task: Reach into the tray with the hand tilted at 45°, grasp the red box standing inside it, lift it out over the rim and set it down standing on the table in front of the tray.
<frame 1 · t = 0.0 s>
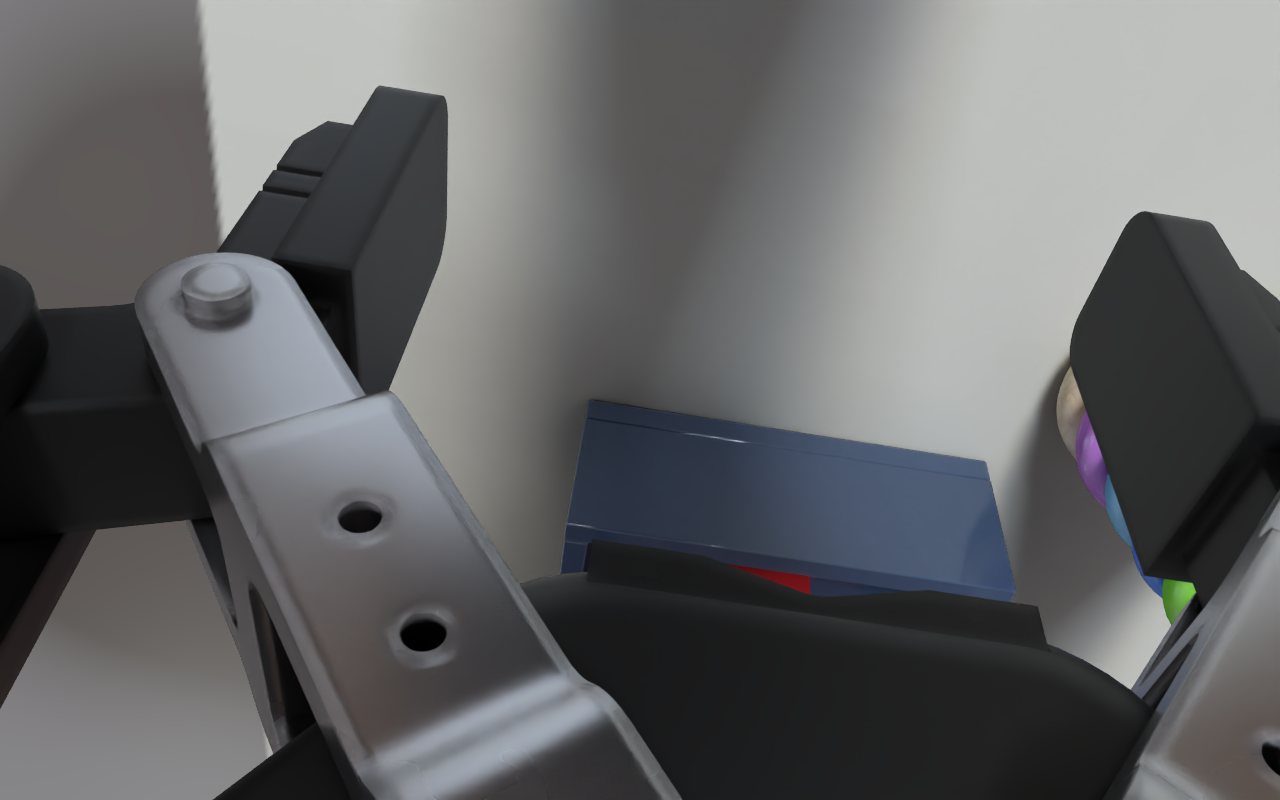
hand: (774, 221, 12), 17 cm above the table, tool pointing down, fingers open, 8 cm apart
tray: (746, 561, 43), on the table
red box: (746, 581, 42), point 1 cm above the table, touching tray
stacking toy: (1175, 374, 35), on the table
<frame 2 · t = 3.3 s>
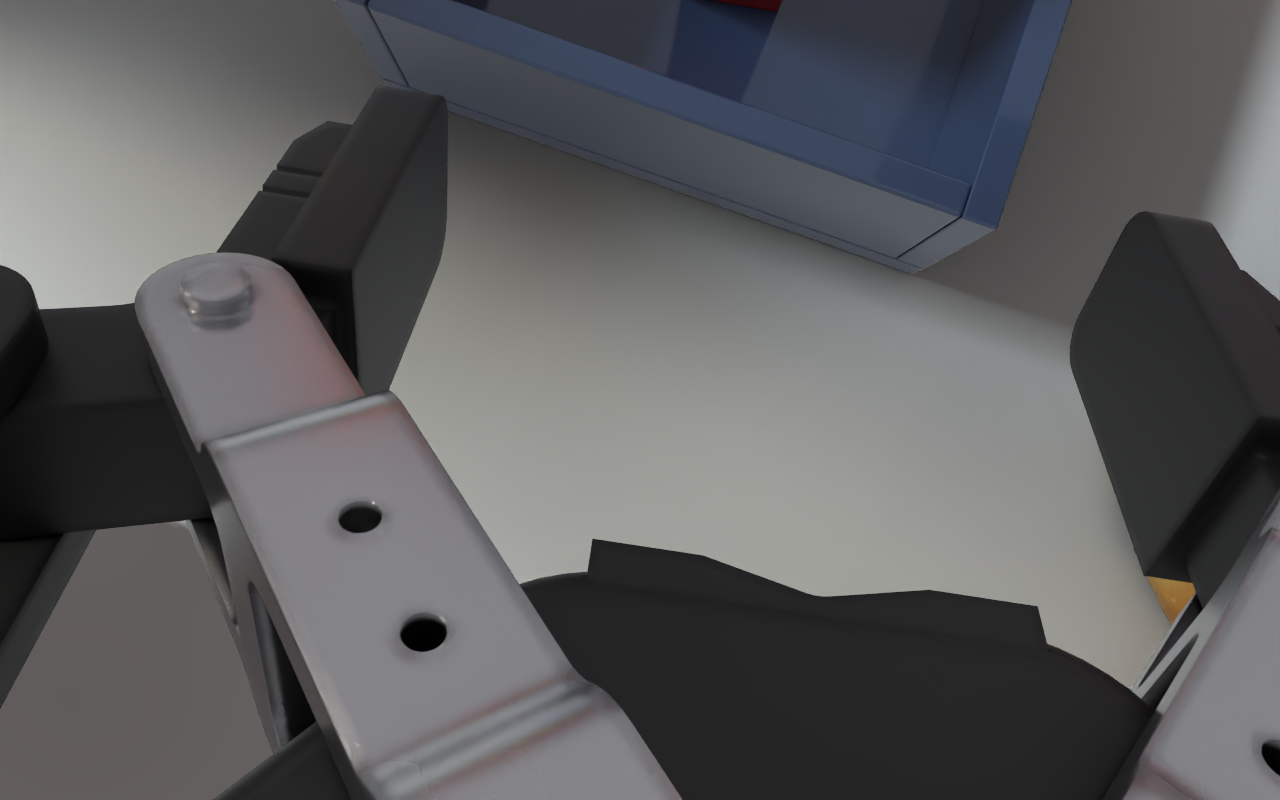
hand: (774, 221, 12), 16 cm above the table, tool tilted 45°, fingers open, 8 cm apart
pastry: (1245, 535, 29), on the table
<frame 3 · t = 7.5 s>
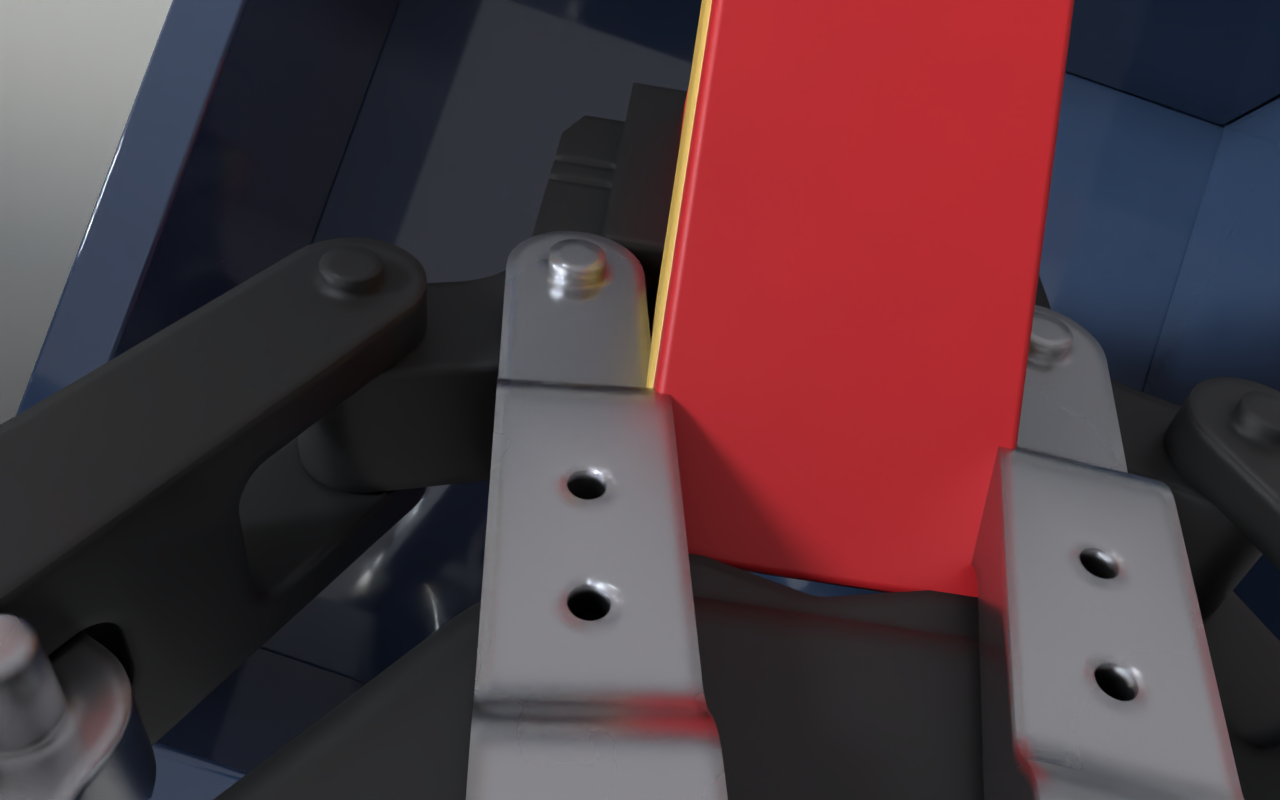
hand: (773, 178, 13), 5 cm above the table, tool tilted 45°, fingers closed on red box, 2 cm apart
tray: (708, 370, 18), on the table
red box: (718, 365, 17), point 1 cm above the table, touching tray, gripper
when the fingers open (4 cm above the table, at t = 15.6 s): red box stays where it is, on the table.
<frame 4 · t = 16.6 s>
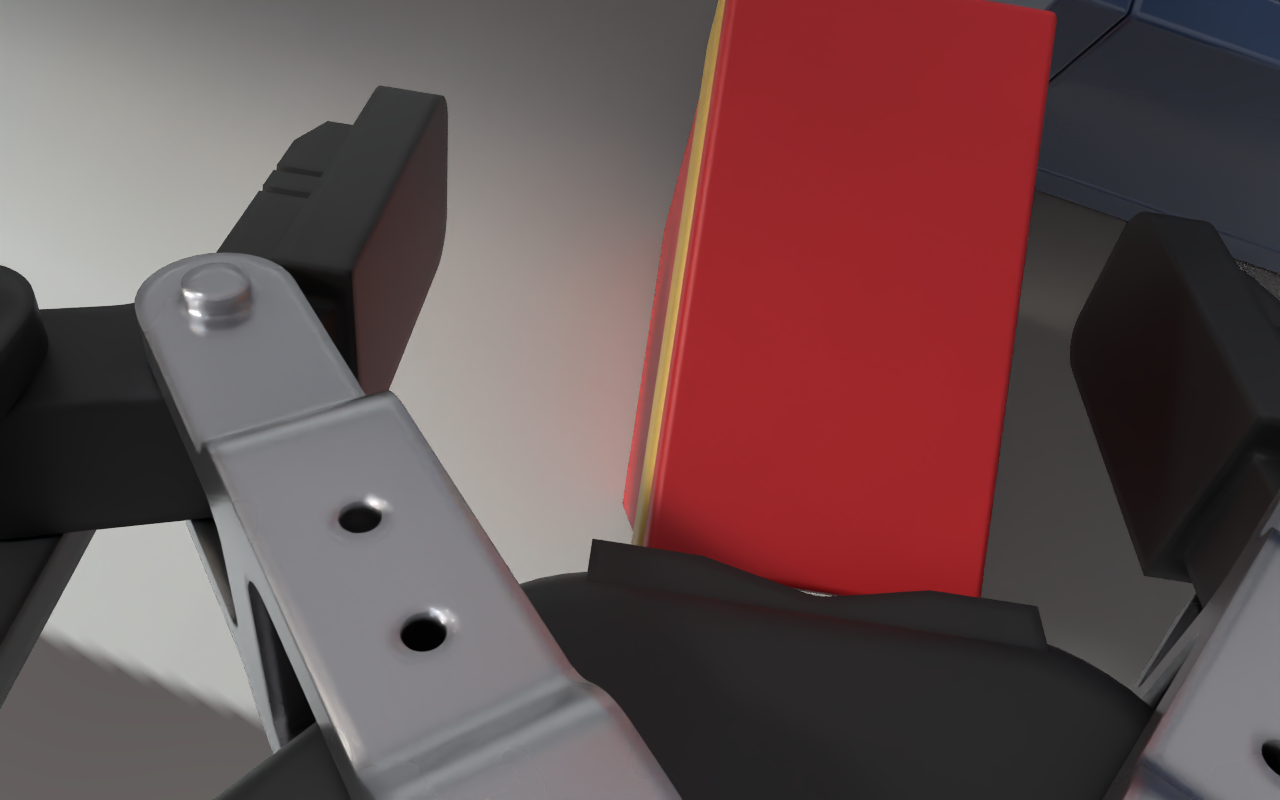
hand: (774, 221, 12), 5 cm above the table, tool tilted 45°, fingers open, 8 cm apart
red box: (720, 376, 18), on the table
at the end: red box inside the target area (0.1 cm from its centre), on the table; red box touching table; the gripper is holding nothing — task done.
